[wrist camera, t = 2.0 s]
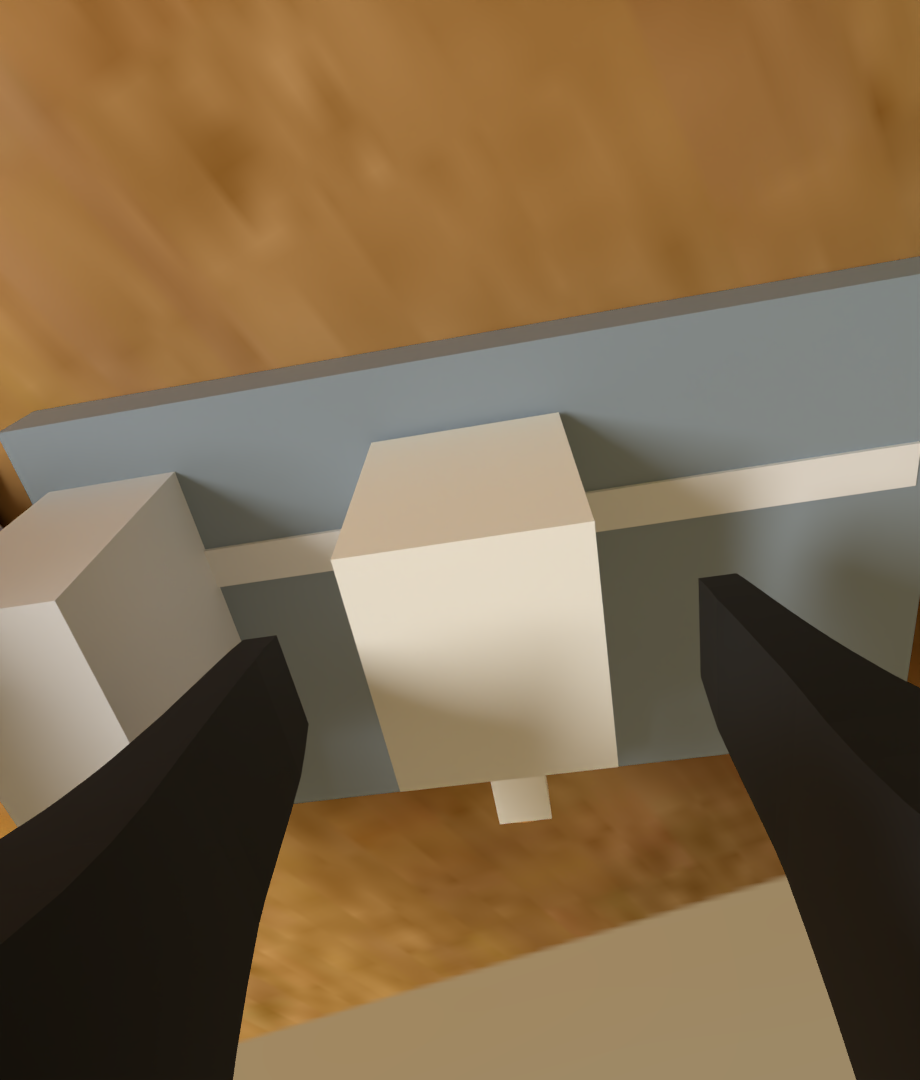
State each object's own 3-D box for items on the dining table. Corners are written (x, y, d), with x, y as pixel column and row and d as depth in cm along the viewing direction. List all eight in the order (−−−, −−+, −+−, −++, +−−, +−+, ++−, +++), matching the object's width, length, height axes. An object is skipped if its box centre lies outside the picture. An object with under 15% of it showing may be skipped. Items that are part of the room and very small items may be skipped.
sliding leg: (447, 748, 19) (439, 922, 15) (371, 442, 15) (330, 559, 11) (595, 731, 19) (632, 904, 15) (558, 411, 15) (594, 521, 11)
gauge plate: (206, 776, 22) (111, 998, 17) (33, 411, 17) (-202, 551, 11) (871, 696, 21) (1032, 916, 15) (925, 255, 15) (1219, 323, 9)
